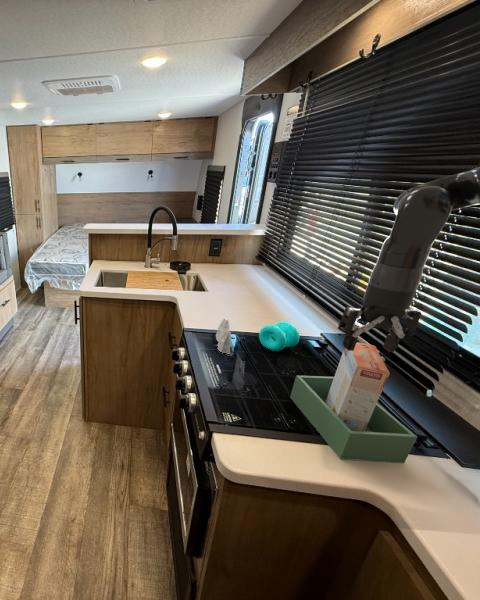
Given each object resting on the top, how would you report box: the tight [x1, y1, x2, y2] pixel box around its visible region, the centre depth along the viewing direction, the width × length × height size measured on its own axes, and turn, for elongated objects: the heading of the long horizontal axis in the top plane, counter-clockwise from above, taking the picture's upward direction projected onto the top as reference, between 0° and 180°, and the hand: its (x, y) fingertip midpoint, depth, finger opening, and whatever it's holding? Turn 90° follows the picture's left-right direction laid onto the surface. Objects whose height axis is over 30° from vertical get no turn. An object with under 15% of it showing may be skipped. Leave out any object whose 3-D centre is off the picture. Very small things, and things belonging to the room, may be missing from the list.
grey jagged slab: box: [215, 317, 232, 355], centre depth 116 cm, size 12×4×11 cm, turn 163°
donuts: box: [258, 320, 301, 352], centre depth 115 cm, size 10×10×10 cm
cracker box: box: [325, 341, 390, 432], centre depth 76 cm, size 14×6×21 cm, turn 148°
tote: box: [289, 375, 418, 464], centre depth 79 cm, size 14×22×8 cm, turn 174°
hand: (368, 349), depth 72 cm, fingers open, 8 cm apart
